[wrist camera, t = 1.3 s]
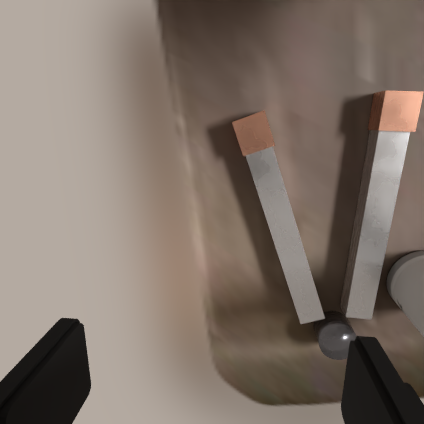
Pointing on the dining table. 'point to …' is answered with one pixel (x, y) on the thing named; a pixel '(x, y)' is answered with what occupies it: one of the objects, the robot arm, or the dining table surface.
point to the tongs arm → (278, 213)
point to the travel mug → (409, 287)
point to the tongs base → (371, 216)
